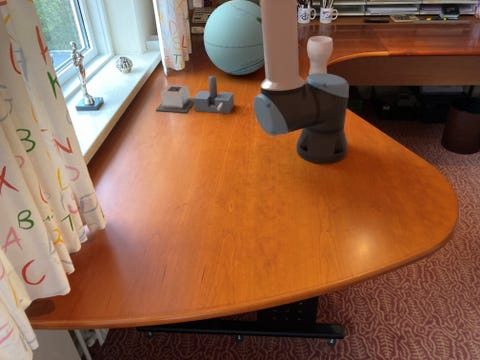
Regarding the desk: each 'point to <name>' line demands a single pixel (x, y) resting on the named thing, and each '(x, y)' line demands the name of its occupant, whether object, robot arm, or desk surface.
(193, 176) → the desk surface
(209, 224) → the desk surface
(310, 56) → the cup
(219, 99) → the vise
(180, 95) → the collar
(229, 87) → the desk surface
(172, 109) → the mat
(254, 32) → the globe
